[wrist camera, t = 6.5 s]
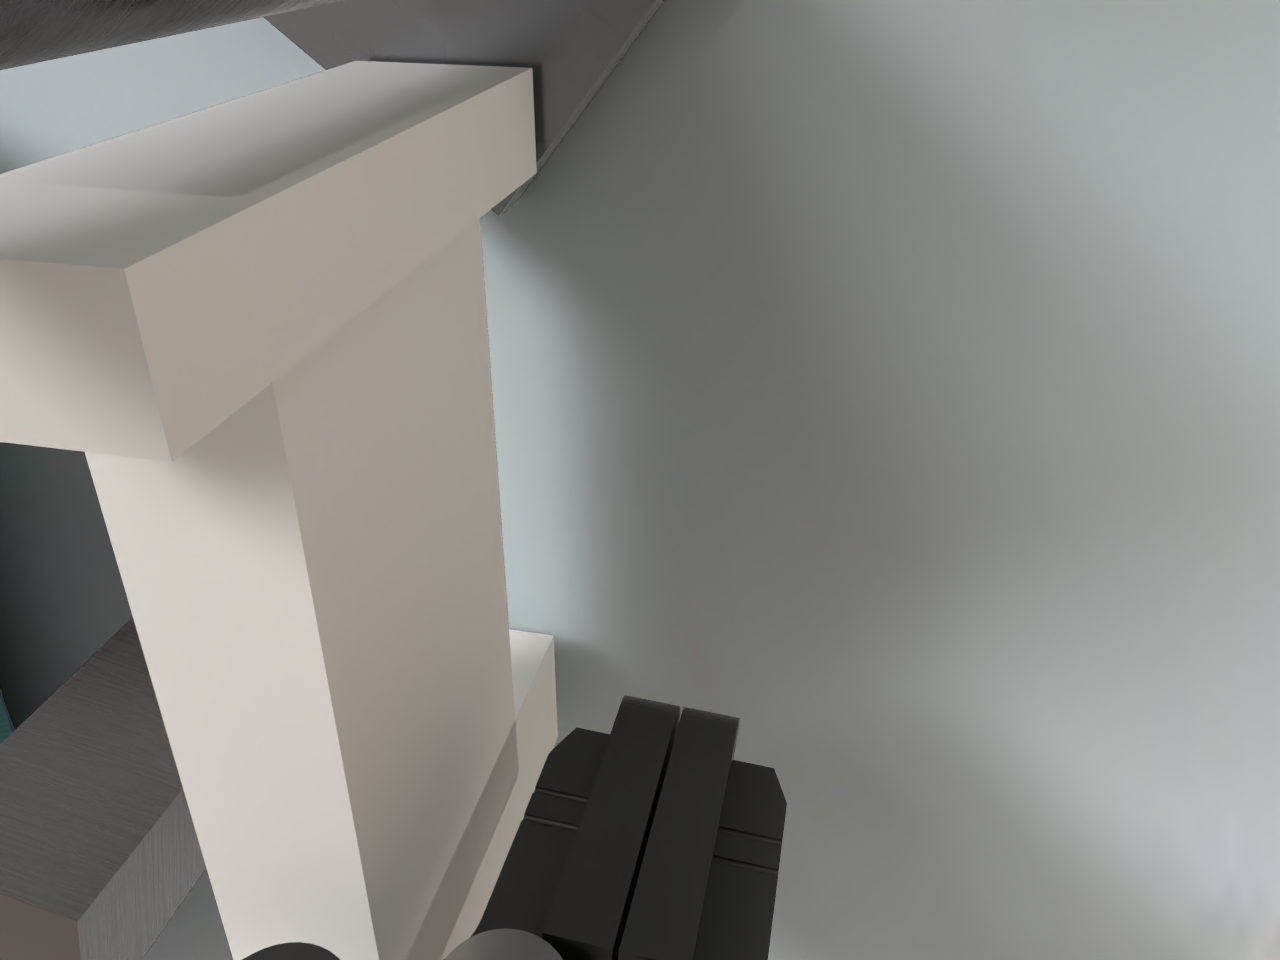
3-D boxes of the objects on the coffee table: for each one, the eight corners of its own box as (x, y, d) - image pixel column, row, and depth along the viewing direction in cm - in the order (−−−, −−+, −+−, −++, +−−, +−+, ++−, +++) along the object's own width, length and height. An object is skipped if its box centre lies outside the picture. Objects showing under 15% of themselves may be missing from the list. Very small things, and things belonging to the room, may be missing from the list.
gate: (373, 55, 13) (-213, 241, 6) (544, 62, 12) (122, 268, 6) (448, 719, 18) (184, 1212, 11) (569, 738, 18) (369, 1259, 11)
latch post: (188, 650, 20) (-121, 983, 14) (188, 494, 18) (-170, 801, 12) (368, 710, 19) (132, 1076, 13) (387, 559, 17) (124, 907, 11)
